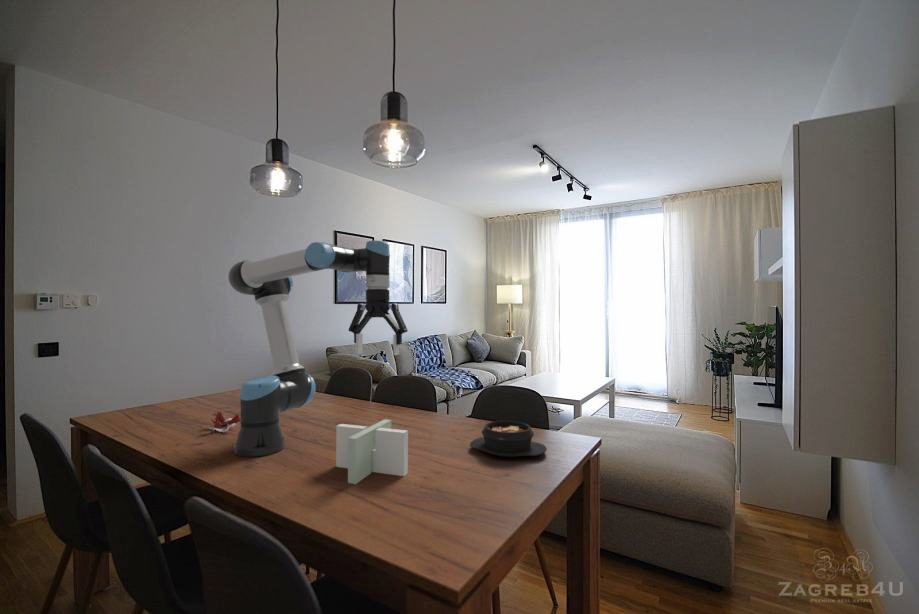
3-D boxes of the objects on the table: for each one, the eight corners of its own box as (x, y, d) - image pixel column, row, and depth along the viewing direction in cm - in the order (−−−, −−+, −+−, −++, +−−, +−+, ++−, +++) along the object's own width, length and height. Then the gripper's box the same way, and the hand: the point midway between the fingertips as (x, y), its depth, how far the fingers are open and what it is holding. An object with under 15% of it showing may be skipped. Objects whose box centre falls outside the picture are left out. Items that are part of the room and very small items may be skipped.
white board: (336, 466, 123) (336, 425, 123) (341, 463, 126) (341, 423, 126) (404, 476, 116) (404, 432, 116) (407, 473, 119) (407, 430, 119)
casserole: (461, 456, 132) (461, 429, 133) (479, 439, 150) (479, 415, 150) (541, 467, 124) (541, 438, 124) (550, 447, 141) (550, 422, 141)
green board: (384, 457, 131) (384, 419, 131) (391, 458, 130) (391, 419, 130) (347, 482, 112) (348, 437, 112) (355, 484, 111) (355, 438, 111)
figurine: (196, 431, 159) (196, 414, 159) (225, 424, 169) (225, 407, 169) (221, 437, 152) (221, 418, 152) (250, 429, 162) (250, 411, 162)
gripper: (338, 288, 137) (337, 353, 137) (407, 287, 129) (407, 356, 129) (350, 289, 144) (350, 351, 144) (417, 288, 136) (417, 354, 136)
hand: (377, 354), depth 136 cm, fingers open, 13 cm apart
